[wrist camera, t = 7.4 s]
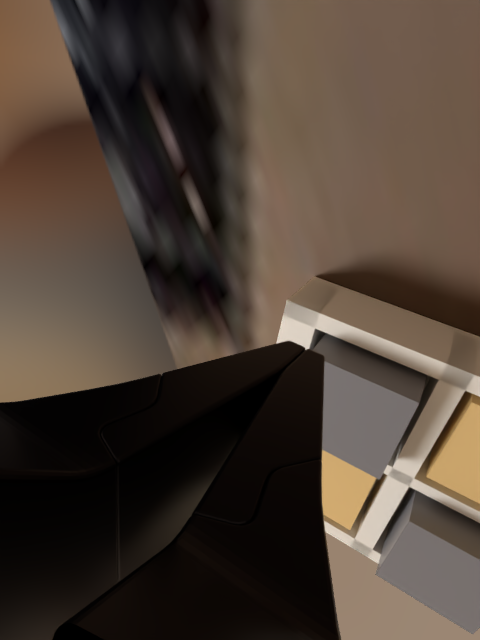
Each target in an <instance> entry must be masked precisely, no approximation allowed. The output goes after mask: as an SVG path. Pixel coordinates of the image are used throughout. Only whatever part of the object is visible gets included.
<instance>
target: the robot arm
mask: <svg viewBox="0 0 480 640" xmlns="http://www.w3.org/2000/svg"><path fill="white" fill-rule="evenodd" d="M324 364H325V358H324V356H323V355H322V354H320V353H317V352H315V351H313V350H310V349H305V347H303V346H301V345H299V344H297V343H294V342H292V341H285V342H281V343H277V344H273V345H269V346H265V347H261V348H258V349H254V350H250V351H246V352H242V353H238V354H234V355H231V356H227V357H223V358H219V359H215V360H211V361H207V362H204V363H200V364H196V365H192V366H188V367H184V368H180V369H177V370H173V371H169V372H165V373H163V374H162V376H161V374H157V375H153V376H149V377H145V378H142V379H137V380H133V381H129V382H124V383H120V384H115V385H110V386H104V387H99V388H94V389H89V390H83V391H77V392H71V393H66V394H59V395H54V396H48V397H42V398H36V399H30V400H24V401H18V402H5V403H0V640H341V636H340V631H339V627H338V621H337V614H336V607H335V600H334V592H333V585H332V578H331V571H330V564H329V557H328V549H327V541H326V534H325V525H324V515H323V504H322V462H321V461H322V441H323V402H324Z"/></svg>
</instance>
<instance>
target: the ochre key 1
mask: <svg viewBox="0 0 480 640" xmlns="http://www.w3.org/2000/svg"><path fill="white" fill-rule="evenodd" d="M321 462H322V504H323V515H325V516H327V517H328V518H330V519H332V520H334V521H335V522H337V523H339V524H340V525H342V526H344V527H345V528H347V529H349V530H350V529H351V527H352V525H353V523H354V521H355V519H356V518H357V516H358V514H359V512H360V510H361V508H362V506H363V504H364V502H365V500H366V498H367V496H368V494H369V492H370V490H371V488H372V486H373V484H374V482H375V480H376V478H375V477H373V476H371V475H370V474H368V473H366V472H364V471H362V470H360V469H358V468H356V467H354V466H352V465H351V464H349V463H347V462H345V461H343V460H341V459H339V458H337V457H335V456H334V455H332V454H330V453H328V452H326V451H324V450H322V461H321Z"/></svg>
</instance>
